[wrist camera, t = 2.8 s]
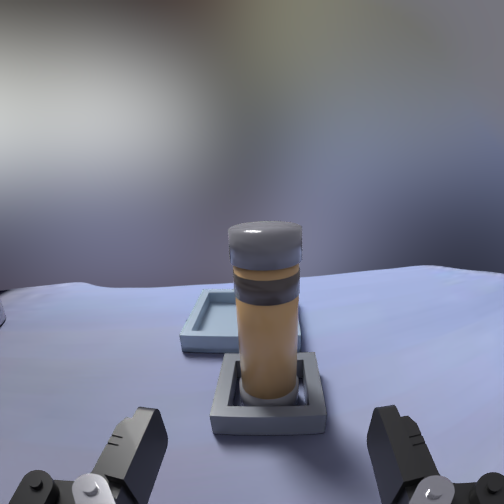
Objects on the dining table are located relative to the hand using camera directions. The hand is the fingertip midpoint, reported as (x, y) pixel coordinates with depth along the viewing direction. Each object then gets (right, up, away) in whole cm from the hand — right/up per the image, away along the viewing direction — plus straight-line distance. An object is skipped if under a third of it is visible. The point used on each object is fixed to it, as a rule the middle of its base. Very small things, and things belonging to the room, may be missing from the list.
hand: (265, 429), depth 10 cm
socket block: (+1, -6, +13) cm, 14 cm away
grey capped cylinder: (+1, -6, +13) cm, 14 cm away
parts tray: (-1, -2, +26) cm, 26 cm away
